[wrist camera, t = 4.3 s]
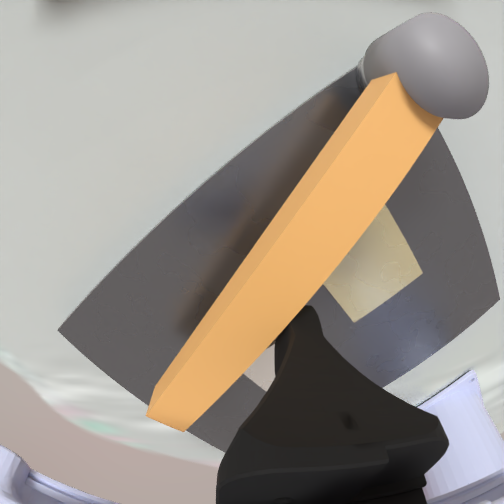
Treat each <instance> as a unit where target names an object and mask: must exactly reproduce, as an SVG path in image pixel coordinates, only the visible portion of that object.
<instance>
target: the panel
mask: <svg viewBox="0 0 504 504" xmlns="http://www.w3.org/2000/svg"><path fill="white" fill-rule="evenodd" d="M363 62H364V57H363V58H362V59H361V60H360V61H359V63H358V65H357V66H356V67H354V68H353V69H351V70H350V71H348V72H347V73H345V74H344V75H342V76H341V77H339V78H338V79H337V80H335V81H334V82H332V83H331V84H329V85H328V86H326V87H325V88H324V89H322V90H321V91H319V92H318V93H316V94H315V95H314V96H312V97H311V98H309V99H308V100H307V101H305V102H304V103H303V104H301V105H300V106H298V107H297V108H296V109H294V110H293V111H292V112H290V113H289V114H288V115H286V116H285V117H284V118H282V119H281V120H280V121H278V122H277V123H276V124H275V125H273V126H272V127H271V128H269V129H268V130H267V131H265V132H264V133H263V134H262V135H260V136H259V137H258V138H257V139H255V140H254V141H253V142H252V143H250V144H249V145H248V146H247V147H245V148H244V149H243V150H242V151H240V152H239V153H238V154H237V155H236V156H234V157H233V158H232V159H231V160H230V161H228V162H227V163H226V164H225V165H224V166H222V167H221V168H220V169H219V170H218V171H217V172H215V173H214V174H213V175H212V176H211V177H210V178H208V179H207V180H206V181H205V182H204V183H203V184H201V185H200V186H199V187H198V188H197V189H196V190H195V191H194V192H192V193H191V194H190V195H189V196H188V197H187V198H186V199H185V200H183V201H182V202H181V203H180V204H179V205H178V206H177V207H176V208H175V209H174V210H172V211H171V212H170V213H169V214H168V215H167V216H166V217H165V218H164V219H163V220H162V221H161V222H160V223H159V224H157V225H156V226H155V227H154V228H153V229H152V230H151V231H150V232H149V233H148V234H147V235H146V236H145V237H144V238H143V239H142V240H141V241H140V242H139V243H138V244H137V245H136V246H135V247H134V248H133V249H132V250H131V251H130V252H129V253H128V254H127V255H126V256H125V257H124V258H123V259H122V260H121V261H120V262H119V263H118V264H117V265H116V266H115V267H114V268H113V269H112V270H111V271H110V272H109V273H108V274H107V275H106V276H105V277H104V278H103V279H102V280H101V281H100V283H99V284H98V285H97V286H96V287H95V288H94V289H93V290H92V291H91V292H90V293H89V294H88V295H87V297H86V298H85V299H84V300H83V301H82V302H81V303H80V304H79V305H78V306H77V308H76V309H75V310H74V311H73V312H72V313H71V314H70V315H69V317H68V318H67V319H66V320H65V321H64V322H63V324H62V325H61V326H60V328H59V329H58V331H59V332H60V333H61V334H62V335H63V336H64V337H65V338H66V339H67V340H68V341H69V342H70V343H71V344H72V345H74V346H75V347H76V348H77V349H78V350H79V351H80V352H81V353H82V354H83V355H85V356H86V357H87V358H88V359H89V360H90V361H92V362H93V363H94V364H95V365H96V366H97V367H99V368H100V369H101V370H102V371H103V372H105V373H106V374H107V375H108V376H110V377H111V378H112V379H113V380H115V381H116V382H117V383H118V384H120V385H121V386H122V387H124V388H125V389H126V390H128V391H129V392H130V393H132V394H133V395H134V396H136V397H137V398H138V399H140V400H141V401H143V402H144V403H145V404H147V405H148V406H149V404H150V401H151V397H152V394H153V391H154V388H155V386H156V384H157V383H158V382H159V380H160V379H161V377H162V376H163V374H164V373H165V372H166V370H167V369H168V367H169V366H170V364H171V363H172V362H173V360H174V359H175V357H176V356H177V354H178V353H179V352H180V350H181V349H182V347H183V346H184V345H185V343H186V342H187V340H188V339H189V337H190V336H191V335H192V333H193V332H194V330H195V329H196V327H197V326H198V325H199V323H200V322H201V320H202V319H203V318H204V316H205V315H206V313H207V312H208V310H209V309H210V308H211V306H212V305H213V303H214V302H215V301H216V299H217V298H218V296H219V295H220V293H221V292H222V291H223V289H224V288H225V286H226V285H227V283H228V282H229V281H230V279H231V278H232V276H233V275H234V274H235V272H236V271H237V269H238V268H239V266H240V265H241V264H242V262H243V261H244V259H245V258H246V257H247V255H248V254H249V252H250V251H251V249H252V248H253V247H254V245H255V244H256V242H257V241H258V240H259V238H260V237H261V235H262V234H263V232H264V231H265V230H266V228H267V227H268V225H269V224H270V223H271V221H272V220H273V218H274V217H275V216H276V214H277V213H278V211H279V210H280V208H281V207H282V206H283V204H284V203H285V201H286V200H287V199H288V197H289V196H290V194H291V193H292V191H293V190H294V189H295V187H296V186H297V184H298V183H299V182H300V180H301V179H302V177H303V176H304V175H305V173H306V172H307V170H308V169H309V167H310V166H311V165H312V163H313V162H314V160H315V159H316V158H317V156H318V155H319V153H320V152H321V151H322V149H323V148H324V146H325V145H326V143H327V142H328V141H329V139H330V138H331V136H332V135H333V134H334V132H335V131H336V129H337V128H338V127H339V125H340V124H341V122H342V121H343V120H344V118H345V117H346V115H347V114H348V112H349V111H350V110H351V108H352V107H353V105H354V104H355V103H356V101H357V100H358V98H359V97H360V96H361V94H362V93H363V91H364V90H365V89H366V87H367V86H368V85H367V83H366V80H365V76H364V70H363ZM499 300H500V297H499V292H498V288H497V283H496V279H495V275H494V271H493V267H492V263H491V259H490V256H489V252H488V249H487V245H486V242H485V239H484V235H483V232H482V229H481V226H480V223H479V220H478V217H477V215H476V212H475V209H474V206H473V204H472V201H471V199H470V196H469V193H468V191H467V189H466V186H465V184H464V181H463V179H462V177H461V174H460V172H459V170H458V168H457V165H456V163H455V161H454V159H453V157H452V155H451V153H450V151H449V148H448V146H447V144H446V142H445V141H444V139H443V137H442V135H441V133H440V131H439V129H438V127H437V129H436V131H435V132H434V134H433V135H432V137H431V138H430V140H429V141H428V143H427V144H426V146H425V148H424V149H423V151H422V152H421V154H420V155H419V157H418V158H417V159H416V161H415V162H414V164H413V165H412V167H411V168H410V170H409V171H408V173H407V174H406V175H405V177H404V178H403V180H402V181H401V183H400V184H399V185H398V187H397V188H396V190H395V191H394V192H393V194H392V195H391V197H390V198H389V199H388V201H387V202H386V204H385V205H384V206H383V208H382V209H381V210H380V212H379V213H378V214H377V216H376V217H375V218H374V220H373V221H372V222H371V224H370V225H369V226H368V228H367V229H366V230H365V232H364V233H363V234H362V236H361V237H360V238H359V239H358V241H357V242H356V243H355V245H354V246H353V247H352V248H351V250H350V251H349V252H348V253H347V255H346V256H345V257H344V258H343V260H342V261H341V262H340V263H339V265H338V266H337V267H336V268H335V270H334V271H333V272H332V273H331V275H330V276H329V277H328V278H327V279H326V281H325V282H324V283H323V284H322V285H321V287H320V288H319V289H318V290H317V291H316V293H315V294H314V295H313V296H312V297H311V299H310V300H309V301H308V302H307V303H306V304H305V305H310V306H313V308H314V309H315V310H316V312H317V314H318V316H319V319H320V323H321V327H322V331H323V335H324V337H325V338H326V339H327V341H328V342H329V343H330V344H331V345H332V346H333V347H334V348H335V349H336V350H337V351H338V352H339V353H340V354H341V356H342V357H344V358H345V359H346V360H347V361H348V362H349V363H350V364H351V365H352V366H354V367H355V368H356V369H357V370H358V371H359V372H361V373H362V374H363V375H364V376H366V377H367V378H368V379H370V380H371V381H372V382H374V383H375V384H377V385H378V386H380V387H381V388H383V387H384V386H386V385H388V384H389V383H391V382H393V381H394V380H396V379H397V378H399V377H401V376H402V375H404V374H405V373H407V372H408V371H410V370H411V369H413V368H414V367H416V366H417V365H419V364H420V363H422V362H423V361H424V360H426V359H427V358H429V357H430V356H431V355H433V354H434V353H436V352H437V351H438V350H440V349H441V348H442V347H444V346H445V345H446V344H448V343H449V342H450V341H452V340H453V339H454V338H455V337H457V336H458V335H459V334H460V333H462V332H463V331H464V330H465V329H467V328H468V327H469V326H470V325H471V324H473V323H474V322H475V321H476V320H477V319H479V318H480V317H481V316H482V315H483V314H484V313H485V312H487V311H488V310H489V309H490V308H491V307H492V306H493V305H494V304H495V303H496V302H498V301H499ZM275 341H276V338H275V340H274V341H273V342H272V343H271V344H270V345H269V346H268V347H267V348H266V349H265V351H264V352H263V353H262V354H261V355H260V356H259V357H258V358H257V359H256V360H255V361H254V362H253V363H252V364H251V366H250V367H249V368H248V369H247V370H246V371H245V372H244V373H243V374H242V375H241V376H240V377H239V378H238V379H237V380H236V381H235V382H234V383H233V384H232V385H231V386H230V387H229V388H228V389H227V390H226V391H225V392H224V393H223V394H222V395H221V396H220V397H219V398H218V399H217V400H216V401H215V402H214V403H213V404H212V405H211V406H210V407H209V408H208V409H207V410H206V411H205V412H204V413H203V414H202V415H201V416H200V417H199V418H198V419H197V420H196V421H195V422H194V423H193V424H192V425H191V426H190V427H189V428H188V429H186V430H187V431H188V432H190V433H191V434H193V435H195V436H197V437H198V438H200V439H202V440H203V441H205V442H207V443H209V444H211V445H212V446H214V447H216V448H218V449H220V450H221V451H223V452H225V453H226V451H227V449H228V448H229V446H230V444H231V442H232V440H233V439H234V437H235V435H236V433H237V431H238V429H239V427H240V426H241V425H242V424H243V422H244V421H245V420H246V419H247V418H248V417H249V415H250V414H251V413H252V412H253V411H254V409H255V408H256V407H257V405H258V404H259V402H260V401H261V399H262V398H263V396H264V395H265V394H266V392H267V391H268V389H269V387H270V386H271V384H272V382H273V380H274V378H275V364H274V347H275Z"/></svg>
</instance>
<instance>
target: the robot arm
mask: <svg viewBox="0 0 504 504" xmlns="http://www.w3.org/2000/svg"><path fill="white" fill-rule="evenodd" d="M274 364H275V378H274V380H273V382H272V384H271V386H270V387H269V389H268V391H267V392H266V394H265V395H264V396H263V398H262V399H261V401H260V402H259V404H258V405H257V407H256V408H255V409H254V411H253V412H252V413H251V414H250V415H249V417H248V418H247V419H246V420H245V421H244V422H243V424H242V425H241V426H240V427H239V429H238V431H237V433H236V435H235V437H234V439H233V440H232V442H231V444H230V446H229V448H228V449H227V451H226V453H225V455H224V457H223V459H222V461H221V464H220V466H219V470H218V476H217V486H216V504H504V441H503V439H502V437H501V435H500V433H499V431H498V430H497V428H496V426H495V424H494V422H493V421H492V419H491V417H490V415H489V414H488V412H487V410H486V408H485V407H484V404H483V399H482V395H481V391H480V387H479V383H478V379H477V375H476V373H475V371H474V370H471V371H469V372H467V373H466V374H465V375H463V376H462V377H461V378H459V379H458V380H457V381H455V382H454V383H453V384H451V385H450V386H448V387H447V388H445V389H444V390H443V391H441V392H440V393H438V394H437V395H435V396H434V397H432V398H431V399H429V400H428V401H426V402H425V403H423V404H421V405H420V406H418V407H415V406H412V405H410V404H408V403H407V402H405V401H403V400H401V399H399V398H397V397H396V396H394V395H392V394H391V393H389V392H387V391H386V390H384V389H383V388H381V387H380V386H378V385H377V384H375V383H374V382H372V381H371V380H370V379H368V378H367V377H366V376H364V375H363V374H362V373H361V372H359V371H358V370H357V369H356V368H355V367H354V366H352V365H351V364H350V363H349V362H348V361H347V360H346V359H345V358H344V357H342V356H341V354H340V353H339V352H338V351H337V350H336V349H335V348H334V347H333V346H332V345H331V344H330V343H329V342H328V341H327V339H326V338H325V337H324V335H323V331H322V327H321V323H320V319H319V316H318V314H317V312H316V310H315V309H314V308H313V306H310V305H305V306H304V307H303V308H302V309H301V310H300V311H299V313H298V314H297V315H296V316H295V317H294V318H293V319H292V321H291V322H290V323H289V324H288V325H287V326H286V327H285V328H284V330H283V331H282V332H281V333H280V334H279V335H278V336H277V337H276V341H275V347H274ZM0 504H119V503H116V502H113V501H109V500H106V499H103V498H100V497H97V496H94V495H91V494H88V493H86V492H83V491H80V490H78V489H75V488H73V487H70V486H68V485H65V484H63V483H61V482H58V481H56V480H54V479H52V478H49V477H47V476H45V475H43V474H41V473H39V472H37V471H34V470H33V469H31V468H30V467H29V465H28V464H27V463H26V462H25V461H24V460H23V459H22V458H21V457H20V456H19V455H17V454H16V453H14V452H13V451H11V450H9V449H8V448H6V447H4V446H2V445H1V444H0Z"/></svg>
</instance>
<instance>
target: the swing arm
mask: <svg viewBox="0 0 504 504" xmlns="http://www.w3.org/2000/svg"><path fill="white" fill-rule="evenodd" d="M363 70H364V76H365V80H366V83H367V85H368V86H367V87H366V89H365V90H364V91H363V93H362V94H361V96H360V97H359V98H358V100H357V101H356V103H355V104H354V105H353V107H352V108H351V110H350V111H349V112H348V114H347V115H346V117H345V118H344V120H343V121H342V122H341V124H340V125H339V127H338V128H337V129H336V131H335V132H334V134H333V135H332V136H331V138H330V139H329V141H328V142H327V143H326V145H325V146H324V148H323V149H322V151H321V152H320V153H319V155H318V156H317V158H316V159H315V160H314V162H313V163H312V165H311V166H310V167H309V169H308V170H307V172H306V173H305V175H304V176H303V177H302V179H301V180H300V182H299V183H298V184H297V186H296V187H295V189H294V190H293V191H292V193H291V194H290V196H289V197H288V199H287V200H286V201H285V203H284V204H283V206H282V207H281V208H280V210H279V211H278V213H277V214H276V216H275V217H274V218H273V220H272V221H271V223H270V224H269V225H268V227H267V228H266V230H265V231H264V232H263V234H262V235H261V237H260V238H259V240H258V241H257V242H256V244H255V245H254V247H253V248H252V249H251V251H250V252H249V254H248V255H247V257H246V258H245V259H244V261H243V262H242V264H241V265H240V266H239V268H238V269H237V271H236V272H235V274H234V275H233V276H232V278H231V279H230V281H229V282H228V283H227V285H226V286H225V288H224V289H223V291H222V292H221V293H220V295H219V296H218V298H217V299H216V301H215V302H214V303H213V305H212V306H211V308H210V309H209V310H208V312H207V313H206V315H205V316H204V318H203V319H202V320H201V322H200V323H199V325H198V326H197V327H196V329H195V330H194V332H193V333H192V335H191V336H190V337H189V339H188V340H187V342H186V343H185V345H184V346H183V347H182V349H181V350H180V352H179V353H178V354H177V356H176V357H175V359H174V360H173V362H172V363H171V364H170V366H169V367H168V369H167V370H166V372H165V373H164V374H163V376H162V377H161V379H160V380H159V382H158V383H157V384H156V386H155V388H154V391H153V394H152V397H151V401H150V404H149V407H148V410H147V413H146V416H147V417H149V418H151V419H154V420H156V421H158V422H160V423H163V424H165V425H167V426H170V427H172V428H174V429H177V430H179V431H182V432H184V431H185V430H186V429H188V428H189V427H190V426H191V425H192V424H193V423H194V422H195V421H196V420H197V419H198V418H199V417H200V416H201V415H202V414H203V413H204V412H205V411H206V410H207V409H208V408H209V407H210V406H211V405H212V404H213V403H214V402H215V401H216V400H217V399H218V398H219V397H220V396H221V395H222V394H223V393H224V392H225V391H226V390H227V389H228V388H229V387H230V386H231V385H232V384H233V383H234V382H235V381H236V380H237V379H238V378H239V377H240V376H241V375H242V374H243V373H244V372H245V371H246V370H247V369H248V368H249V367H250V366H251V364H252V363H253V362H254V361H255V360H256V359H257V358H258V357H259V356H260V355H261V354H262V353H263V352H264V351H265V349H266V348H267V347H268V346H269V345H270V344H271V343H272V342H273V341H274V340H275V338H276V337H277V336H278V335H279V334H280V333H281V332H282V331H283V330H284V328H285V327H286V326H287V325H288V324H289V323H290V322H291V321H292V319H293V318H294V317H295V316H296V315H297V314H298V313H299V311H300V310H301V309H302V308H303V307H304V306H305V304H306V303H307V302H308V301H309V300H310V299H311V297H312V296H313V295H314V294H315V293H316V291H317V290H318V289H319V288H320V287H321V285H322V284H323V283H324V282H325V281H326V279H327V278H328V277H329V276H330V275H331V273H332V272H333V271H334V270H335V268H336V267H337V266H338V265H339V263H340V262H341V261H342V260H343V258H344V257H345V256H346V255H347V253H348V252H349V251H350V250H351V248H352V247H353V246H354V245H355V243H356V242H357V241H358V239H359V238H360V237H361V236H362V234H363V233H364V232H365V230H366V229H367V228H368V226H369V225H370V224H371V222H372V221H373V220H374V218H375V217H376V216H377V214H378V213H379V212H380V210H381V209H382V208H383V206H384V205H385V204H386V202H387V201H388V199H389V198H390V197H391V195H392V194H393V192H394V191H395V190H396V188H397V187H398V185H399V184H400V183H401V181H402V180H403V178H404V177H405V175H406V174H407V173H408V171H409V170H410V168H411V167H412V165H413V164H414V162H415V161H416V159H417V158H418V157H419V155H420V154H421V152H422V151H423V149H424V148H425V146H426V144H427V143H428V141H429V140H430V138H431V137H432V135H433V134H434V132H435V131H436V129H437V127H438V126H439V124H440V123H441V121H442V120H443V118H450V119H465V118H469V117H471V116H473V115H475V114H476V113H477V112H478V111H479V110H480V109H481V108H482V106H483V105H484V103H485V100H486V98H487V94H488V89H489V75H488V69H487V65H486V61H485V58H484V56H483V54H482V51H481V49H480V47H479V46H478V44H477V42H476V41H475V40H474V38H473V37H472V36H471V34H470V33H469V32H468V31H467V30H466V29H465V28H464V27H463V26H462V25H460V24H459V23H458V22H456V21H455V20H453V19H451V18H449V17H448V16H445V15H442V14H439V13H432V12H429V13H422V14H419V15H417V16H415V17H413V18H411V19H409V20H408V21H406V22H404V23H402V24H401V25H399V26H397V27H396V28H394V29H392V30H391V31H389V32H387V33H386V34H384V35H382V36H381V37H379V38H377V39H376V40H375V41H373V42H372V43H371V44H370V46H369V47H368V49H367V51H366V53H365V56H364V62H363Z"/></svg>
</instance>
